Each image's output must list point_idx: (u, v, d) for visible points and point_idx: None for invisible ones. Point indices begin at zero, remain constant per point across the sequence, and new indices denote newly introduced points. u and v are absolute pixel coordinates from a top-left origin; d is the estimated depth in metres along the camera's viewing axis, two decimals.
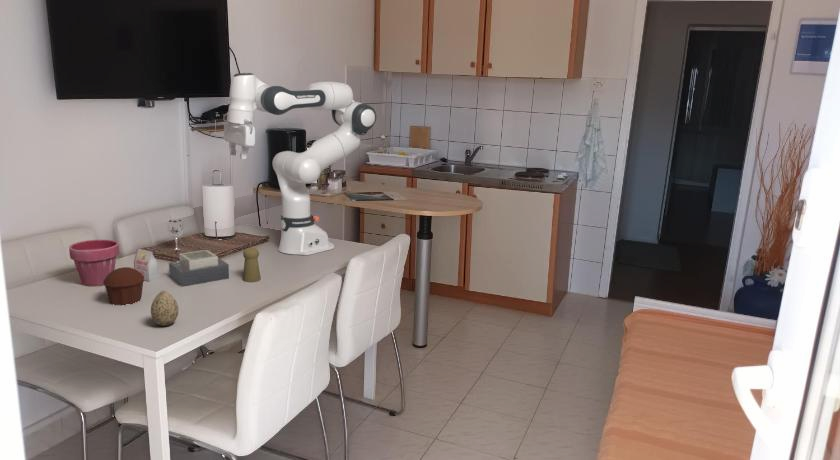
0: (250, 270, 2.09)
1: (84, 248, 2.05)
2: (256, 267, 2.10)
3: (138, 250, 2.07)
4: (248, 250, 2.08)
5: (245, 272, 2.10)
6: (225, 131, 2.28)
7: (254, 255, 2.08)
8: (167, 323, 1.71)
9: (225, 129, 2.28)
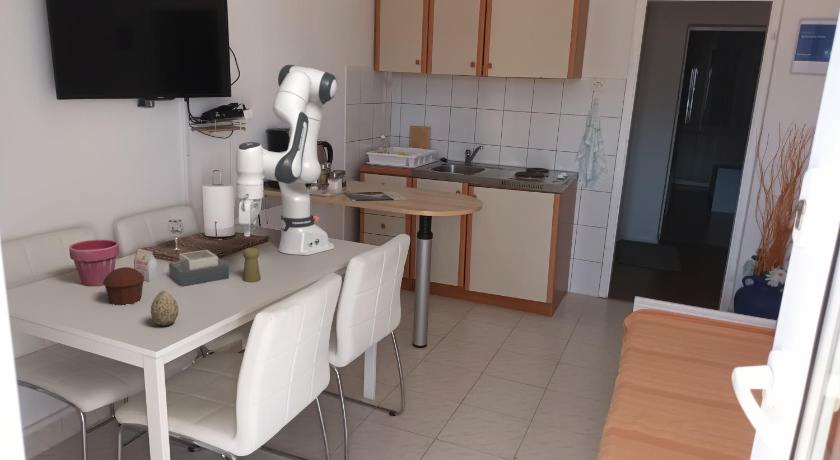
0: (250, 270, 2.09)
1: (84, 248, 2.05)
2: (256, 267, 2.10)
3: (138, 250, 2.07)
4: (248, 250, 2.08)
5: (245, 272, 2.10)
6: None
7: (254, 255, 2.08)
8: (167, 323, 1.71)
9: None
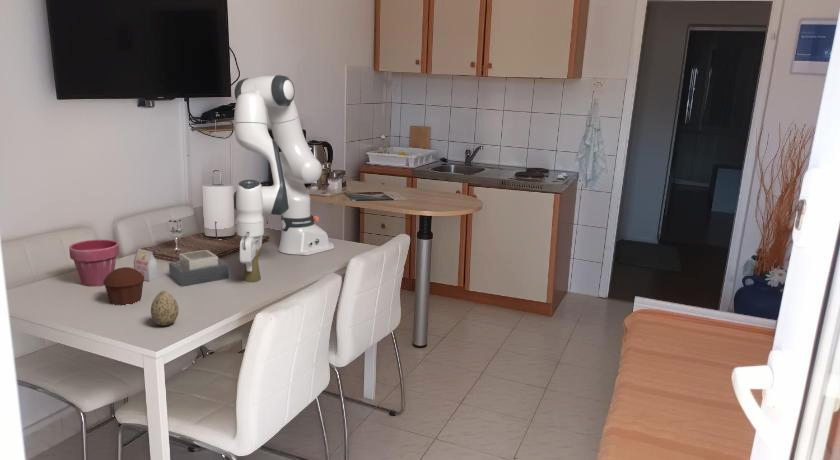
0: None
1: (84, 248, 2.05)
2: (256, 267, 2.10)
3: (138, 250, 2.07)
4: None
5: (245, 272, 2.10)
6: None
7: None
8: (167, 323, 1.71)
9: None
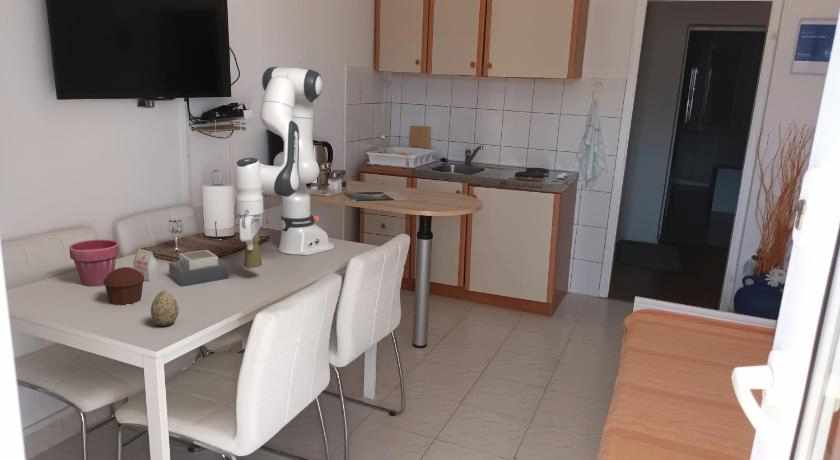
0: (251, 256, 2.08)
1: (84, 248, 2.05)
2: (257, 252, 2.09)
3: (138, 250, 2.07)
4: None
5: (246, 258, 2.09)
6: None
7: (255, 240, 2.07)
8: (167, 323, 1.71)
9: None
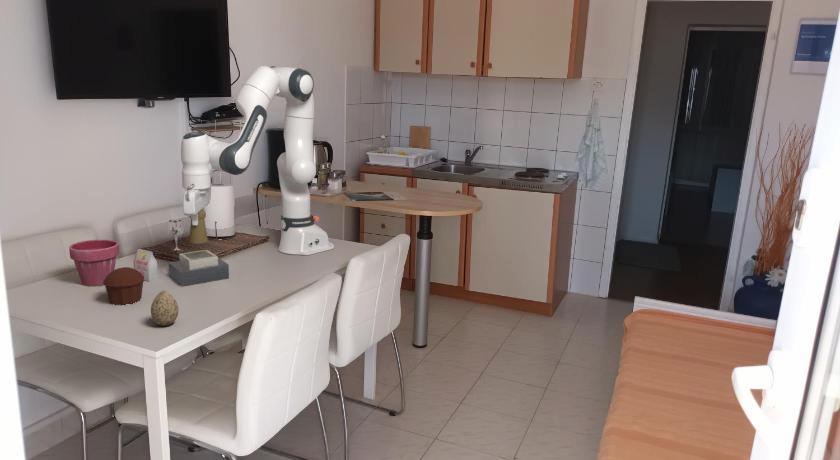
0: (196, 231, 2.05)
1: (84, 248, 2.05)
2: (203, 228, 2.06)
3: (138, 250, 2.07)
4: None
5: (191, 233, 2.05)
6: None
7: (201, 216, 2.04)
8: (167, 323, 1.71)
9: None
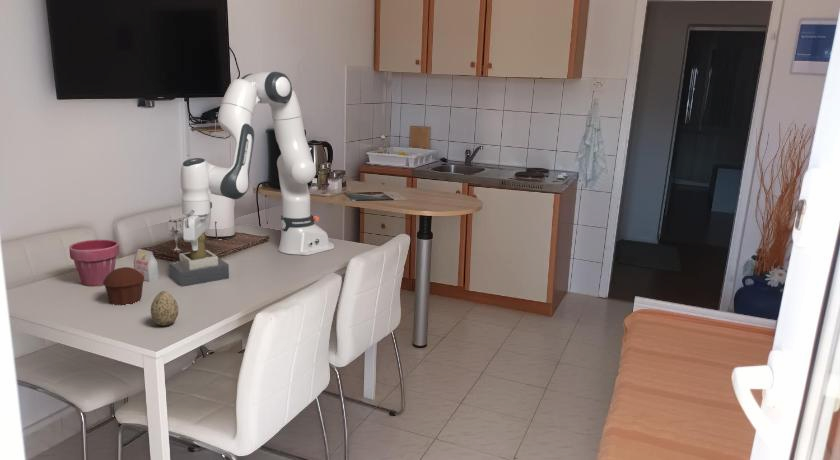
0: (196, 254, 2.07)
1: (84, 248, 2.05)
2: (202, 251, 2.08)
3: (138, 250, 2.07)
4: None
5: (191, 256, 2.08)
6: None
7: (200, 239, 2.07)
8: (167, 323, 1.71)
9: None
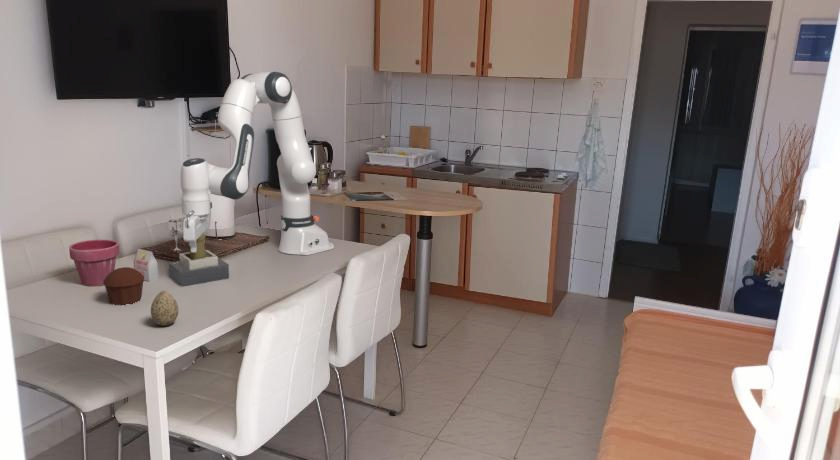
0: (196, 254, 2.07)
1: (84, 248, 2.05)
2: (202, 251, 2.08)
3: (138, 250, 2.07)
4: None
5: (191, 256, 2.08)
6: None
7: (200, 239, 2.07)
8: (167, 323, 1.71)
9: None
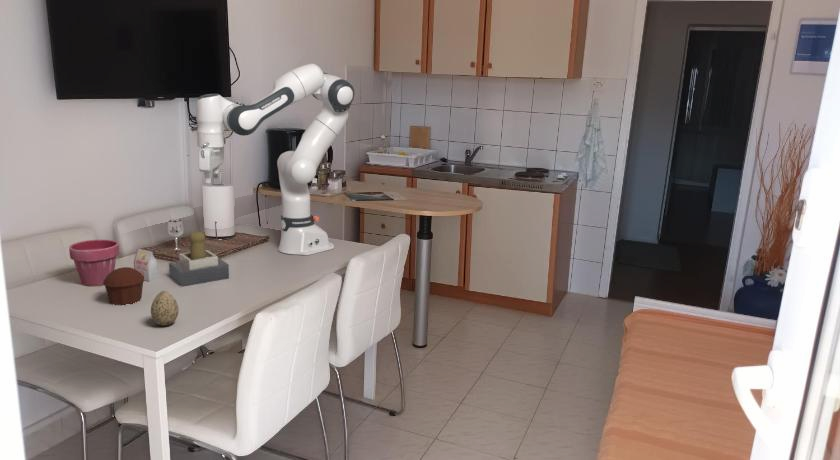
0: (196, 254, 2.07)
1: (84, 248, 2.05)
2: (202, 251, 2.08)
3: (138, 250, 2.07)
4: (194, 234, 2.06)
5: (191, 256, 2.08)
6: None
7: (200, 239, 2.07)
8: (167, 323, 1.71)
9: None
